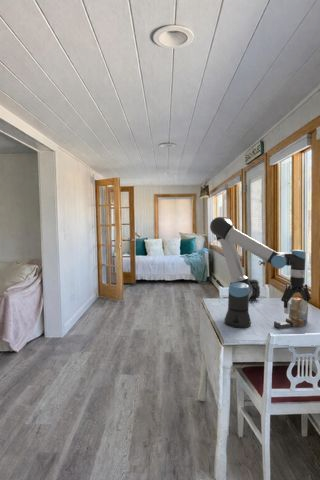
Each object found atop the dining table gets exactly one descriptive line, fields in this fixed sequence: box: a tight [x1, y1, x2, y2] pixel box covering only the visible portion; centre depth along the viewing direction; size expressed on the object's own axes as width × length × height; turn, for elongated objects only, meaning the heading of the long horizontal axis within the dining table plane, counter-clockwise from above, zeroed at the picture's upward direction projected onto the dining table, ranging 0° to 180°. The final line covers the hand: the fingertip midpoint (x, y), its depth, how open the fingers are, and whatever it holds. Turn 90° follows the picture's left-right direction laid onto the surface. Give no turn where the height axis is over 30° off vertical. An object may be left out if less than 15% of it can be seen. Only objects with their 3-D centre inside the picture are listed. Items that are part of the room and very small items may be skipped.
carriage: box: [285, 297, 305, 328], centre depth 183 cm, size 8×6×15 cm
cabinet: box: [288, 303, 309, 322], centre depth 194 cm, size 8×8×9 cm
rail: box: [273, 318, 307, 330], centre depth 182 cm, size 20×4×3 cm, turn 111°
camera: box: [249, 279, 261, 301], centre depth 241 cm, size 10×10×15 cm
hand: (295, 312), depth 183 cm, fingers open, 13 cm apart
